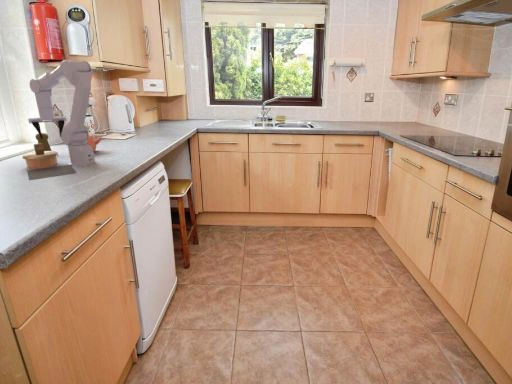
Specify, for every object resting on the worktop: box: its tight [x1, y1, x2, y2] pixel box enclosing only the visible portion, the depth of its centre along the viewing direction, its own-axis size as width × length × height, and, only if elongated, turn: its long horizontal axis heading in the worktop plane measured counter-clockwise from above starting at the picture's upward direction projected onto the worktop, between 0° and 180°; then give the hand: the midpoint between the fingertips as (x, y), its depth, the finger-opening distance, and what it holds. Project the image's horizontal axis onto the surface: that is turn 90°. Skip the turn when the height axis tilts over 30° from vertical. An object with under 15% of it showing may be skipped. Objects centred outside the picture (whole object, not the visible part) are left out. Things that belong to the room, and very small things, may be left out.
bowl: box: [24, 156, 58, 169], centre depth 142 cm, size 11×11×4 cm
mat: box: [26, 164, 77, 181], centre depth 133 cm, size 16×17×1 cm
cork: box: [35, 132, 53, 151], centre depth 160 cm, size 6×6×11 cm
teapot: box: [86, 133, 103, 152], centre depth 167 cm, size 14×12×10 cm
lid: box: [21, 143, 59, 160], centre depth 140 cm, size 13×13×5 cm
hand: (51, 138), depth 149 cm, fingers open, 7 cm apart
